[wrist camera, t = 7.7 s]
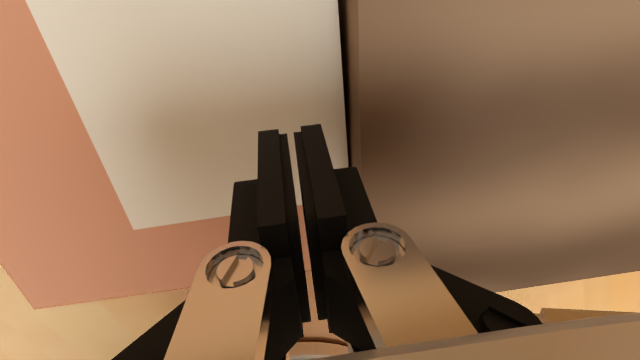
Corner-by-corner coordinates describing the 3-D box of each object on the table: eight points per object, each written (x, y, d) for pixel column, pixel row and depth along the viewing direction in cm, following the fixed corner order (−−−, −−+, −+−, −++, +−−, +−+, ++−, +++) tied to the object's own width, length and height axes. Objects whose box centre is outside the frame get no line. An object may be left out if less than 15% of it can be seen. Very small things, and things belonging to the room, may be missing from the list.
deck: (657, 200, 21) (731, 256, 17) (346, 244, 20) (363, 311, 17) (877, -242, 12) (1120, -300, 8) (324, -201, 11) (353, -247, 7)
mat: (327, 261, 20) (328, 267, 20) (38, 302, 19) (34, 309, 19) (282, -252, 10) (282, -257, 10) (-329, -212, 9) (-350, -215, 9)
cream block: (341, 168, 17) (350, 197, 15) (146, 197, 16) (133, 229, 15) (324, -53, 12) (334, -46, 11) (54, -21, 12) (21, -8, 10)
